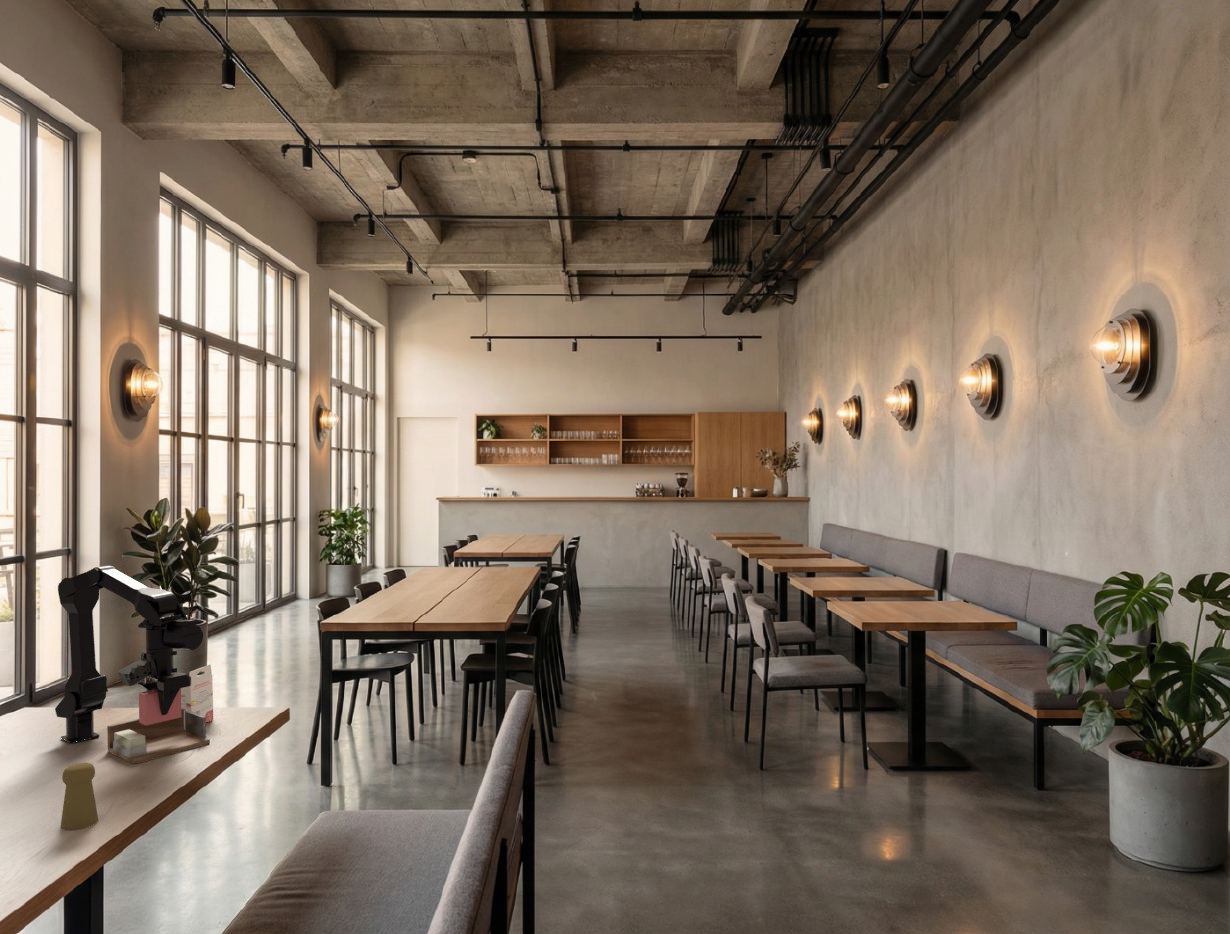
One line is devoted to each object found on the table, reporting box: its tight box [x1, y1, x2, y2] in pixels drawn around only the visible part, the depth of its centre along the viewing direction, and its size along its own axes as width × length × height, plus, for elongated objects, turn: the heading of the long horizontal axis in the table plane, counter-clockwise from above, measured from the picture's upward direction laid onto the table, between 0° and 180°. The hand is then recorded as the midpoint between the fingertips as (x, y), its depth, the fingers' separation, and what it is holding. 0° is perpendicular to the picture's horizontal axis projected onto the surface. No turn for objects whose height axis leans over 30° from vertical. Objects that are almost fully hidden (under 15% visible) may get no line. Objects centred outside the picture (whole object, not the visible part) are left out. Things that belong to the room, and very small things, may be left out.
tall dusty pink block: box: [138, 688, 181, 725], centre depth 201 cm, size 4×8×7 cm, turn 142°
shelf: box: [107, 709, 211, 764], centre depth 201 cm, size 14×17×6 cm
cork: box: [60, 762, 99, 832], centre depth 159 cm, size 6×6×11 cm
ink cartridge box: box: [181, 664, 214, 729], centre depth 219 cm, size 9×5×15 cm, turn 168°
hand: (160, 713), depth 201 cm, fingers closed on tall dusty pink block, 3 cm apart
